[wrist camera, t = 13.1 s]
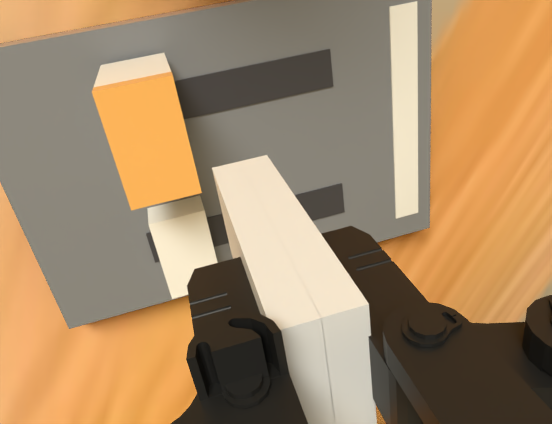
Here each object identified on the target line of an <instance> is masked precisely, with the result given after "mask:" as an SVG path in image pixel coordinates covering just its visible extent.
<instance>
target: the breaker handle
mask: <svg viewBox="0 0 552 424" xmlns="http://www.w3.org/2000/svg"><path fill="white" fill-rule="evenodd" d="M92 94H93V97H94V100H95V103H96V106H97V109H98V112H99V115H100V118H101V121H102V124H103V127H104V130H105V133H106V136H107V139H108V142H109V145H110V148H111V151H112V154H113V157H114V160H115V163H116V166H117V169H118V172H119V175H120V178H121V181H122V184H123V187H124V190H125V193H126V196H127V199H128V202H129V205H130V208H131V210H135V209H139V208H143V207H147V206H151V205H155V204H159V203H163V202H168V201H172V200H176V199H180V198H184V197H188V196H192V195H196V194H200V193H202V191H201V187H200V183H199V179H198V175H197V171H196V167H195V163H194V159H193V155H192V151H191V147H190V143H189V139H188V135H187V131H186V127H185V123H184V119H183V115H182V111H181V107H180V102H179V98H178V94H177V90H176V86H175V82H174V78H173V75H172V72H171V69H170V67H169V64H168V62H167V59H166V56H165V54H164V53H159V54H154V55H149V56H144V57H139V58H134V59H129V60H124V61H119V62H114V63H109V64H104V65H101V66H100V69H99V72H98V75H97V78H96V81H95V84H94V87H93V90H92Z"/></svg>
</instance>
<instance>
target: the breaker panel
mask: <svg viewBox="0 0 552 424" xmlns="http://www.w3.org/2000/svg"><path fill="white" fill-rule="evenodd" d="M431 2H432V1H431V0H234V1H228V2H223V3H217V4H212V5H207V6H201V7H196V8H190V9H185V10H179V11H174V12H169V13H163V14H158V15H152V16H147V17H141V18H136V19H131V20H125V21H120V22H114V23H109V24H103V25H98V26H93V27H87V28H82V29H76V30H71V31H65V32H60V33H55V34H49V35H44V36H38V37H33V38H27V39H22V40H17V41H11V42H6V43H0V182H1V185H2V187H3V189H4V191H5V193H6V195H7V197H8V199H9V202H10V204H11V206H12V208H13V210H14V212H15V214H16V217H17V219H18V221H19V223H20V225H21V227H22V229H23V231H24V234H25V236H26V238H27V240H28V242H29V244H30V246H31V249H32V251H33V253H34V255H35V257H36V259H37V261H38V263H39V266H40V268H41V270H42V272H43V274H44V276H45V278H46V281H47V283H48V285H49V287H50V289H51V291H52V293H53V295H54V298H55V300H56V302H57V304H58V306H59V308H60V310H61V313H62V315H63V317H64V319H65V321H66V323H67V325H68V327H69V329H71V328H74V327H78V326H81V325H85V324H88V323H92V322H96V321H99V320H103V319H106V318H110V317H113V316H117V315H120V314H124V313H128V312H131V311H135V310H138V309H142V308H145V307H149V306H153V305H156V304H160V303H163V302H167V301H170V300H174V299H177V298H181V297H185V296H188V289H187V285H188V282H189V280H190V278H191V276H192V273H193V271H194V269H196V268H200V267H204V266H208V265H211V264H215V263H219V262H223V261H226V260H230V259H233V257H232V253H231V249H230V245H229V240H228V236H227V232H226V227H225V223H224V219H223V214H222V210H221V206H220V201H219V197H218V192H217V188H216V184H215V179H214V175H213V171H212V168H213V167H218V166H222V165H226V164H230V163H235V162H239V161H243V160H247V159H252V158H256V157H260V156H264V155H267V156H268V157H269V159H270V160H271V162H272V163H273V165H274V166H275V168H276V169H277V171H278V172H279V173H280V175H281V176H282V178H283V179H284V181H285V182H286V184H287V185H288V187H289V188H290V189H291V191H292V192H293V194H294V195H295V197H296V198H297V200H298V201H299V203H300V204H301V206H302V207H303V208H304V210H305V211H306V213H307V214H308V216H309V217H310V219H311V220H312V222H313V223H314V225H315V226H316V227H317V229H318V230H319V232H320V233H321V234H322V233H325V232H329V231H333V230H337V229H340V228H344V227H348V226H353V227H355V228H357V229H359V230H362V231H364V232H366V233H368V234H370V235H371V236H372V238H373V239H374V240H375V241H376V242H380V241H384V240H387V239H391V238H395V237H398V236H402V235H405V234H409V233H412V232H416V231H419V230H423V229H427V228H430V125H431V11H432V9H431V8H432V7H431V6H432V3H431ZM159 53H164V54H165V56H166V59H167V62H168V64H169V67H170V69H171V72H172V75H173V78H174V82H175V86H176V90H177V94H178V98H179V102H180V107H181V111H182V115H183V119H184V123H185V127H186V131H187V135H188V139H189V143H190V147H191V151H192V155H193V159H194V163H195V167H196V171H197V175H198V179H199V183H200V187H201V191H202V193H200V194H196V195H192V196H188V197H184V198H180V199H176V200H172V201H168V202H163V203H159V204H155V205H151V206H147V207H143V208H139V209H135V210H131V208H130V205H129V202H128V199H127V196H126V193H125V190H124V187H123V184H122V181H121V178H120V175H119V172H118V169H117V166H116V163H115V160H114V157H113V154H112V151H111V148H110V145H109V142H108V139H107V136H106V133H105V130H104V127H103V124H102V121H101V118H100V115H99V112H98V109H97V106H96V103H95V100H94V97H93V94H92V90H93V87H94V84H95V81H96V78H97V75H98V72H99V69H100V66H101V65H104V64H109V63H114V62H119V61H124V60H129V59H134V58H139V57H144V56H149V55H154V54H159Z"/></svg>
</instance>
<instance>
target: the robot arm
mask: <svg viewBox="0 0 552 424" xmlns="http://www.w3.org/2000/svg"><path fill="white" fill-rule="evenodd" d="M212 171H213V175H214V179H215V184H216V188H217V192H218V197H219V201H220V206H221V210H222V214H223V219H224V223H225V227H226V232H227V236H228V240H229V245H230V249H231V253H232V257H233V259H230V260H226V261H223V262H219V263H215V264H211V265H208V266H204V267H200V268H196V269H194V271H193V273H192V276H191V278H190V280H189V282H188V285H187V289H188V296H189V302H190V309H191V316H192V322H193V329H194V335H195V336H194V337H193V339H192V340H191V342H190V343H189V345H188V351H187V358H186V360H187V363H188V366H189V369H190V372H191V375H192V378H193V381H194V384H195V387H196V390H197V395H196V397H195V399H194V400H193V402H192V404H191V405H190V407H189V408H188V409H187V410H186V411H185V412H184V413H183V414H182V415H181V416H180V417H179V418H178V419H176V420H175V421H174V422H172V423H171V424H377V418H376V405H377V407H378V409H379V411H380V413H381V414H382V416H383V418H384V420H385V422H386V424H552V295H549V296H546V297H543V298H540V299H538V300H535V301H534V302H533V303H532V304H531V305H530V306H529V307H528V308H527V313H526V320H525V322H515V323H490V324H484V323H470V322H469V321H468V320H467V319H466V318H465V317H463V316H462V315H461V314H460V313H458V312H457V311H456V310H454V309H452V308H449V307H446V306H444V305H441V304H437V303H429V302H428V301H427V300H426V299H425V298H424V296H423V295H422V294H421V293H420V292H419V291H418V289H417V288H416V287H415V286H414V285H413V284H412V283H411V281H410V280H409V279H408V278H407V277H406V276H405V274H404V273H403V272H402V271H401V270H400V269H399V268H398V266H397V265H396V264H395V263H394V262H392V261H391V258H390V257H389V256H388V255H387V254H386V253H385V251H384V250H383V251H382V249H381V247H380V246H379V244H378V243H377V242H376V241H375V240H374V239H373V238H372V236H371V235H370V234H368V233H366V232H364V231H362V230H359V229H357V228H355V227H353V226H348V227H344V228H340V229H337V230H333V231H329V232H325V233H322V234H321V233H320V232H319V230H318V229H317V227H316V226H315V225H314V223H313V222H312V220H311V219H310V217H309V216H308V214H307V213H306V211H305V210H304V208H303V207H302V206H301V204H300V203H299V201H298V200H297V198H296V197H295V195H294V194H293V192H292V191H291V189H290V188H289V187H288V185H287V184H286V182H285V181H284V179H283V178H282V176H281V175H280V173H279V172H278V171H277V169H276V168H275V166H274V165H273V163H272V162H271V160H270V159H269V157H268V156H267V155H264V156H260V157H256V158H252V159H247V160H243V161H239V162H235V163H230V164H226V165H222V166H218V167H213V168H212Z"/></svg>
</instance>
